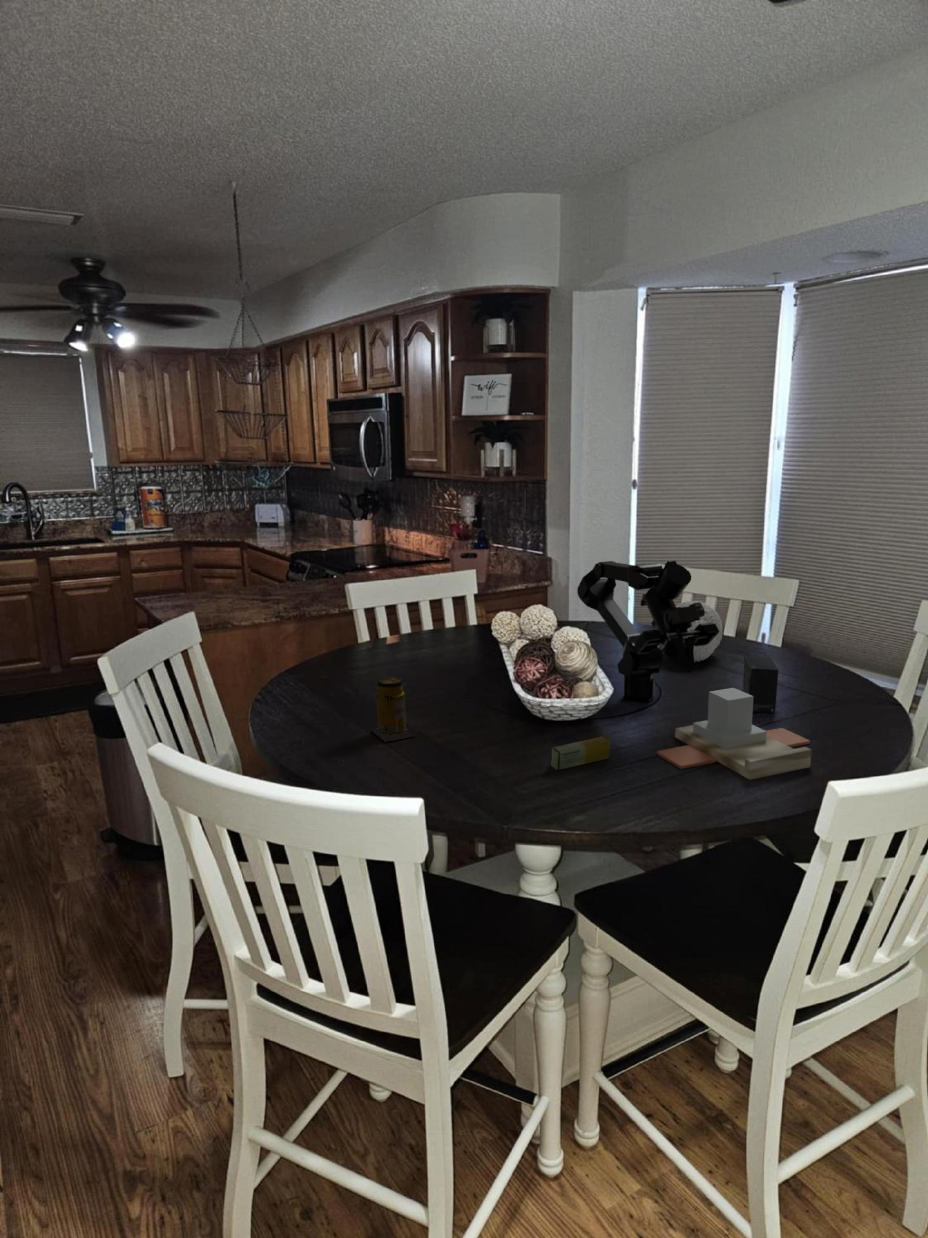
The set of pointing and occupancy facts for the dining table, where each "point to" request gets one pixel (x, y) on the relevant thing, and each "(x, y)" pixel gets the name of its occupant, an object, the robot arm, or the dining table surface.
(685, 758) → the pad
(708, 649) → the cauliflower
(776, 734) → the pad
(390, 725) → the condiment
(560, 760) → the medication box
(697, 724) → the stepped block
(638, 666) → the robot arm
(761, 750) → the birch board
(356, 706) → the dining table surface
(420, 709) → the dining table surface
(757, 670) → the small box
